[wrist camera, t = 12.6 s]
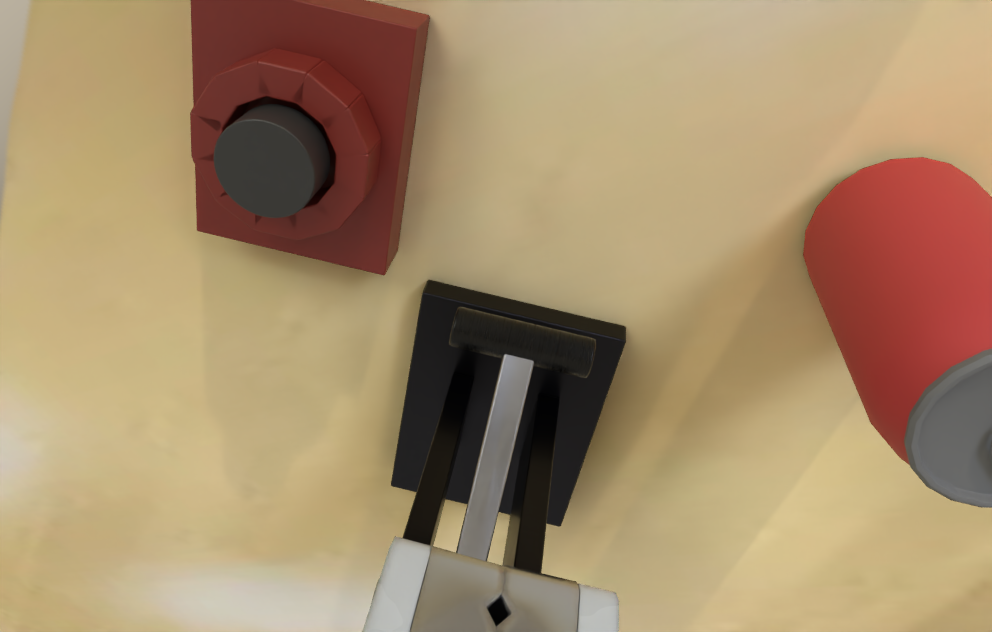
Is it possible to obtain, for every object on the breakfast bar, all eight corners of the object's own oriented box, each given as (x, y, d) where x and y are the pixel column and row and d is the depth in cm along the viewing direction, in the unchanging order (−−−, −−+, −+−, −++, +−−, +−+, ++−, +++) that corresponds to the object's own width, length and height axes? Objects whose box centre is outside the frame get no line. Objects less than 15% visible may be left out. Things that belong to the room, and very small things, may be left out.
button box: (217, -35, 28) (163, -16, 25) (430, 15, 28) (404, 40, 25) (219, 209, 34) (175, 251, 30) (397, 251, 34) (372, 298, 30)
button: (234, 92, 27) (212, 108, 25) (334, 116, 27) (318, 133, 25) (234, 186, 29) (213, 205, 27) (327, 208, 29) (311, 229, 27)
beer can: (806, 315, 33) (889, 533, 23) (793, 171, 29) (882, 351, 19) (980, 288, 31) (1153, 512, 21) (986, 133, 28) (1194, 308, 18)
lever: (460, 306, 28) (456, 305, 26) (592, 337, 28) (600, 340, 26) (384, 624, 29) (373, 653, 26) (515, 656, 29) (516, 688, 26)
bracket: (427, 278, 34) (329, 510, 23) (626, 325, 34) (629, 582, 22) (396, 470, 41) (306, 725, 29) (562, 510, 41) (538, 782, 29)
